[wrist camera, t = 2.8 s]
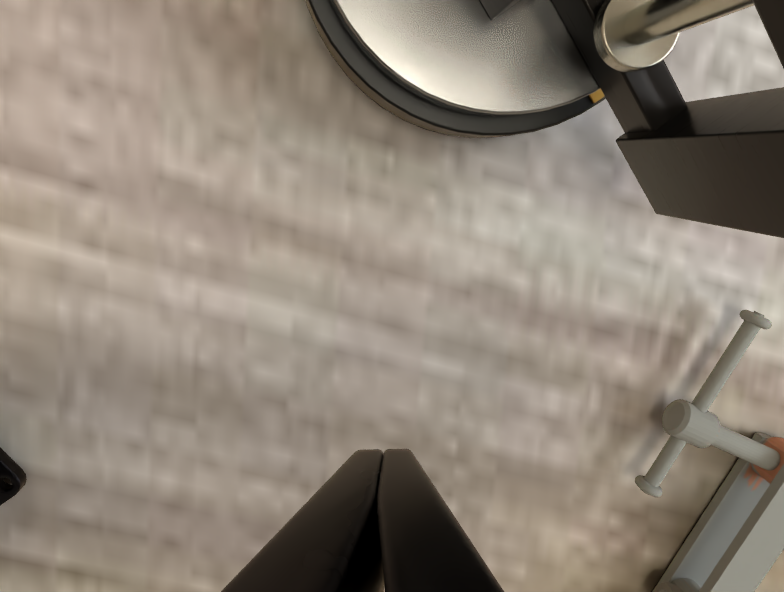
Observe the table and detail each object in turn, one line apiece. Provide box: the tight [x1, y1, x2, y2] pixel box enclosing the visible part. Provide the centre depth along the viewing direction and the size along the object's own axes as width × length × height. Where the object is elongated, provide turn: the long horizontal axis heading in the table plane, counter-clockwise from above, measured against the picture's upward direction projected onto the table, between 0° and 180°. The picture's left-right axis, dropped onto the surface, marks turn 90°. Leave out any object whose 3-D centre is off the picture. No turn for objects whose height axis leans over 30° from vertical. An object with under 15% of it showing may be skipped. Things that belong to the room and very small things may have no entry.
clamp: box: [635, 310, 784, 592], centre depth 21 cm, size 15×2×10 cm
